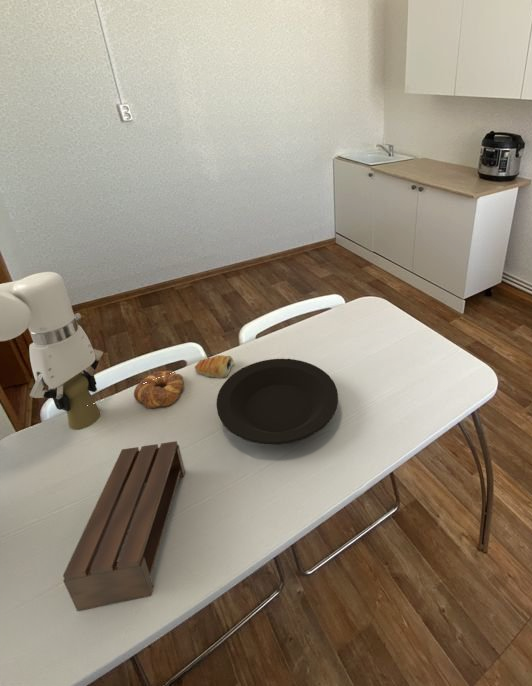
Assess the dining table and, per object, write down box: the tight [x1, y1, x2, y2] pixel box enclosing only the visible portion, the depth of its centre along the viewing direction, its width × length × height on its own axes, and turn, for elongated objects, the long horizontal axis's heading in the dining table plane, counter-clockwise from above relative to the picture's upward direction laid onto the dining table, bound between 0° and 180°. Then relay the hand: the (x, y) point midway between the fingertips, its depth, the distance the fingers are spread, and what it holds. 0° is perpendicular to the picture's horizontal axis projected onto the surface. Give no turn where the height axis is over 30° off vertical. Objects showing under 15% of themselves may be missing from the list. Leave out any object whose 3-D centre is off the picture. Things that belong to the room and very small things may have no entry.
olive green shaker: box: [63, 374, 101, 431], centre depth 86 cm, size 6×6×11 cm
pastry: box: [194, 354, 234, 379], centre depth 101 cm, size 9×7×4 cm
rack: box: [62, 440, 186, 612], centre depth 63 cm, size 10×20×8 cm, turn 10°
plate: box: [216, 358, 339, 446], centre depth 87 cm, size 28×24×6 cm
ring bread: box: [133, 370, 184, 409], centre depth 94 cm, size 12×11×4 cm
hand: (78, 398), depth 85 cm, fingers closed on olive green shaker, 5 cm apart
